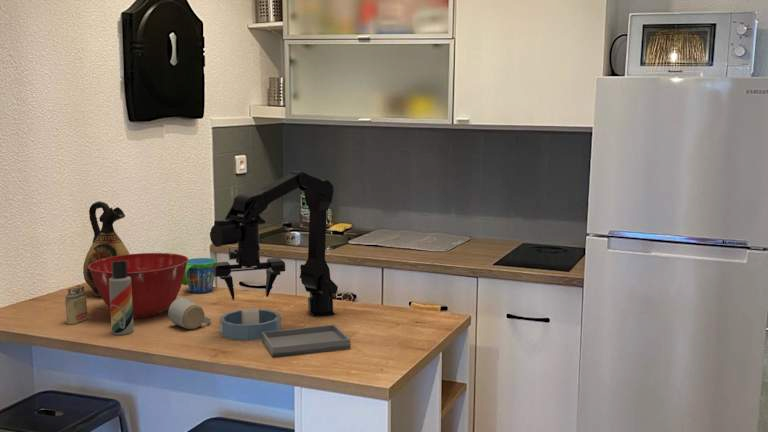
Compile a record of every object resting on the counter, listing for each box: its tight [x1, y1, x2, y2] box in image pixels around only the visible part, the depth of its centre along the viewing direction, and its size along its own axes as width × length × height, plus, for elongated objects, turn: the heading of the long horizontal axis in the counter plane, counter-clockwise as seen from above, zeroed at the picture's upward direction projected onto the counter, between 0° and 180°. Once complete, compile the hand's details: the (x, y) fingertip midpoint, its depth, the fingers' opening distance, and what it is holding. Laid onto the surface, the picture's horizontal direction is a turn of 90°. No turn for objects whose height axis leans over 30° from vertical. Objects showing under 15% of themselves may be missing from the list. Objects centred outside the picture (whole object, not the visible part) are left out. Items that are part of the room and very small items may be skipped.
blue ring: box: [219, 308, 282, 341], centre depth 221 cm, size 16×16×4 cm
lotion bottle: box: [109, 261, 134, 336], centre depth 219 cm, size 6×6×20 cm
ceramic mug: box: [167, 297, 212, 330], centre depth 226 cm, size 11×8×8 cm
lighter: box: [64, 284, 88, 325], centre depth 230 cm, size 7×4×10 cm, turn 163°
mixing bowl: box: [88, 252, 189, 319], centre depth 240 cm, size 28×28×15 cm
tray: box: [261, 324, 351, 358], centre depth 209 cm, size 20×14×2 cm
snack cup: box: [182, 257, 218, 294], centre depth 265 cm, size 16×10×10 cm
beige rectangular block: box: [241, 307, 259, 325], centre depth 220 cm, size 4×4×6 cm
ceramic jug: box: [82, 200, 130, 298], centre depth 261 cm, size 17×15×30 cm
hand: (250, 298), depth 220 cm, fingers open, 9 cm apart
